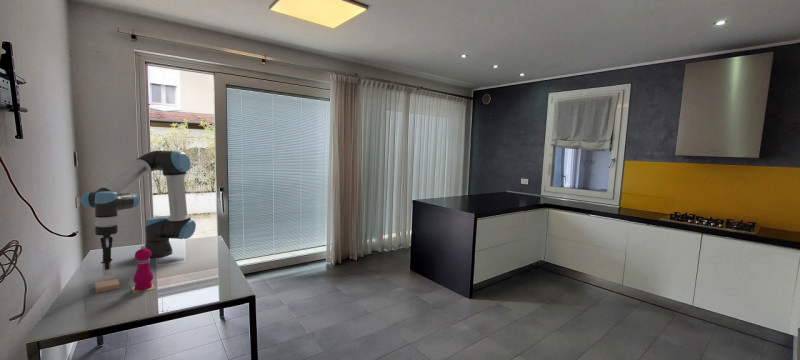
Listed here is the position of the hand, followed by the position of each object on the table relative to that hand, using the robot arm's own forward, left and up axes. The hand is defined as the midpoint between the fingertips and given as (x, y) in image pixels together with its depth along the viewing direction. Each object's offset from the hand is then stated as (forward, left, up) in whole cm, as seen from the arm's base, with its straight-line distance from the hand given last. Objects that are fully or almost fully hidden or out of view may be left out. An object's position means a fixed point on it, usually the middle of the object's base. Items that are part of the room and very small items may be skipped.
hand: (106, 275), depth 148 cm
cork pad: (-12, +10, -6) cm, 17 cm away
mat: (-1, 0, -6) cm, 6 cm away
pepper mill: (-12, +10, -6) cm, 17 cm away
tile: (0, -4, -5) cm, 6 cm away
